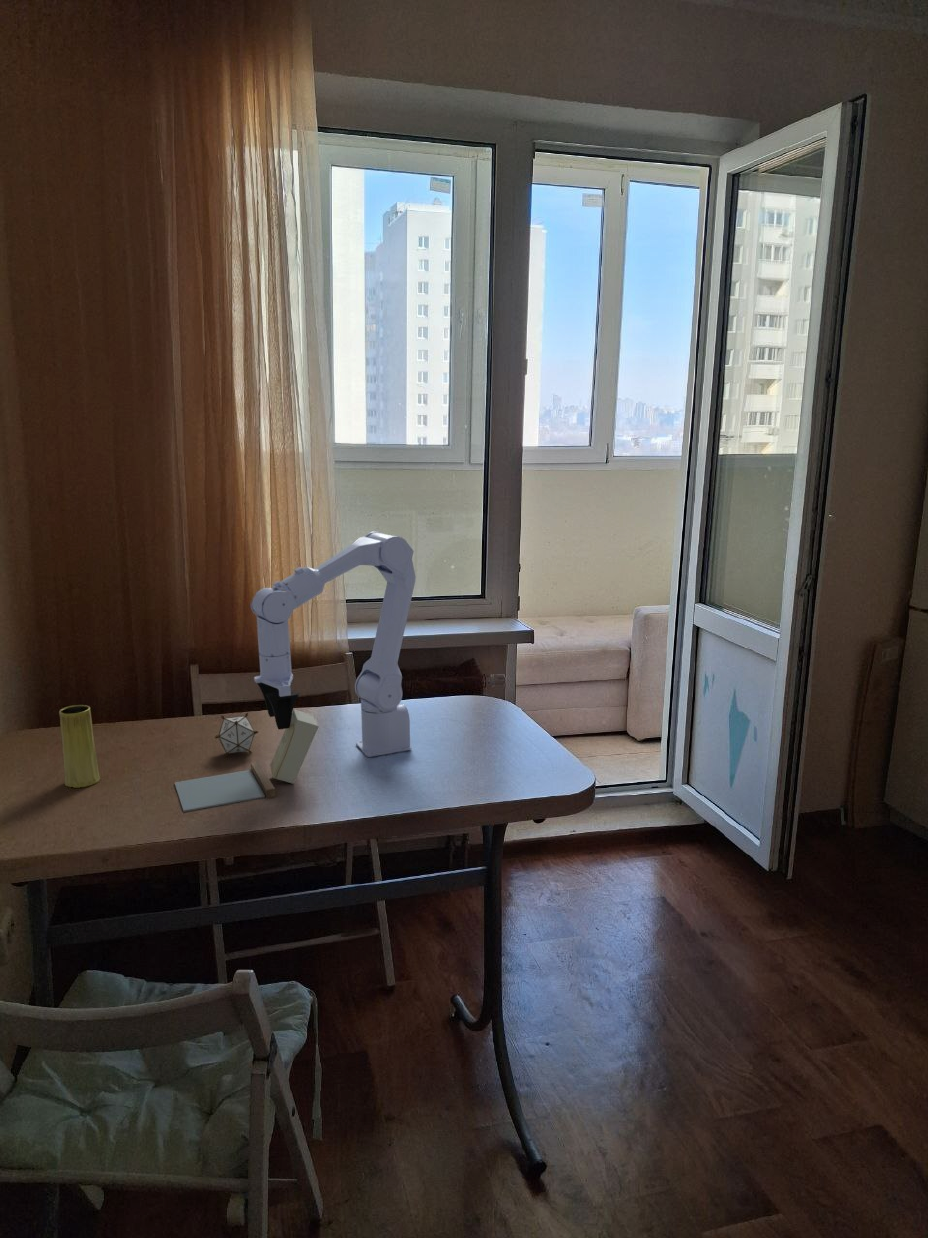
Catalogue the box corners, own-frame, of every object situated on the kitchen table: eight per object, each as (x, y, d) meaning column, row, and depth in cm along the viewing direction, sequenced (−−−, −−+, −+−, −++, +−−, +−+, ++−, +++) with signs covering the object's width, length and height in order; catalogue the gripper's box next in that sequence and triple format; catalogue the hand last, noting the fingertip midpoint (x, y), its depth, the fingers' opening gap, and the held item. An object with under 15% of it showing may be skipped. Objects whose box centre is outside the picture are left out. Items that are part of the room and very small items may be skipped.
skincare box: (269, 765, 165) (292, 707, 164) (291, 771, 167) (314, 714, 165) (272, 778, 159) (296, 718, 158) (295, 785, 161) (319, 725, 160)
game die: (243, 773, 175) (243, 746, 168) (206, 756, 176) (204, 729, 169) (265, 739, 181) (266, 712, 174) (229, 723, 182) (229, 696, 175)
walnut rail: (259, 768, 168) (258, 761, 168) (275, 796, 156) (274, 788, 155) (251, 770, 168) (250, 762, 167) (266, 798, 155) (266, 790, 155)
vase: (107, 777, 164) (99, 705, 161) (83, 790, 159) (75, 716, 156) (81, 773, 166) (73, 702, 163) (57, 786, 161) (48, 712, 157)
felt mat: (250, 771, 167) (250, 769, 167) (264, 797, 155) (264, 795, 155) (174, 784, 161) (174, 782, 161) (183, 812, 150) (183, 810, 150)
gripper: (245, 646, 166) (250, 713, 169) (260, 665, 153) (265, 737, 156) (282, 641, 169) (286, 708, 172) (300, 660, 156) (304, 731, 159)
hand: (279, 722), depth 164 cm, fingers open, 7 cm apart
